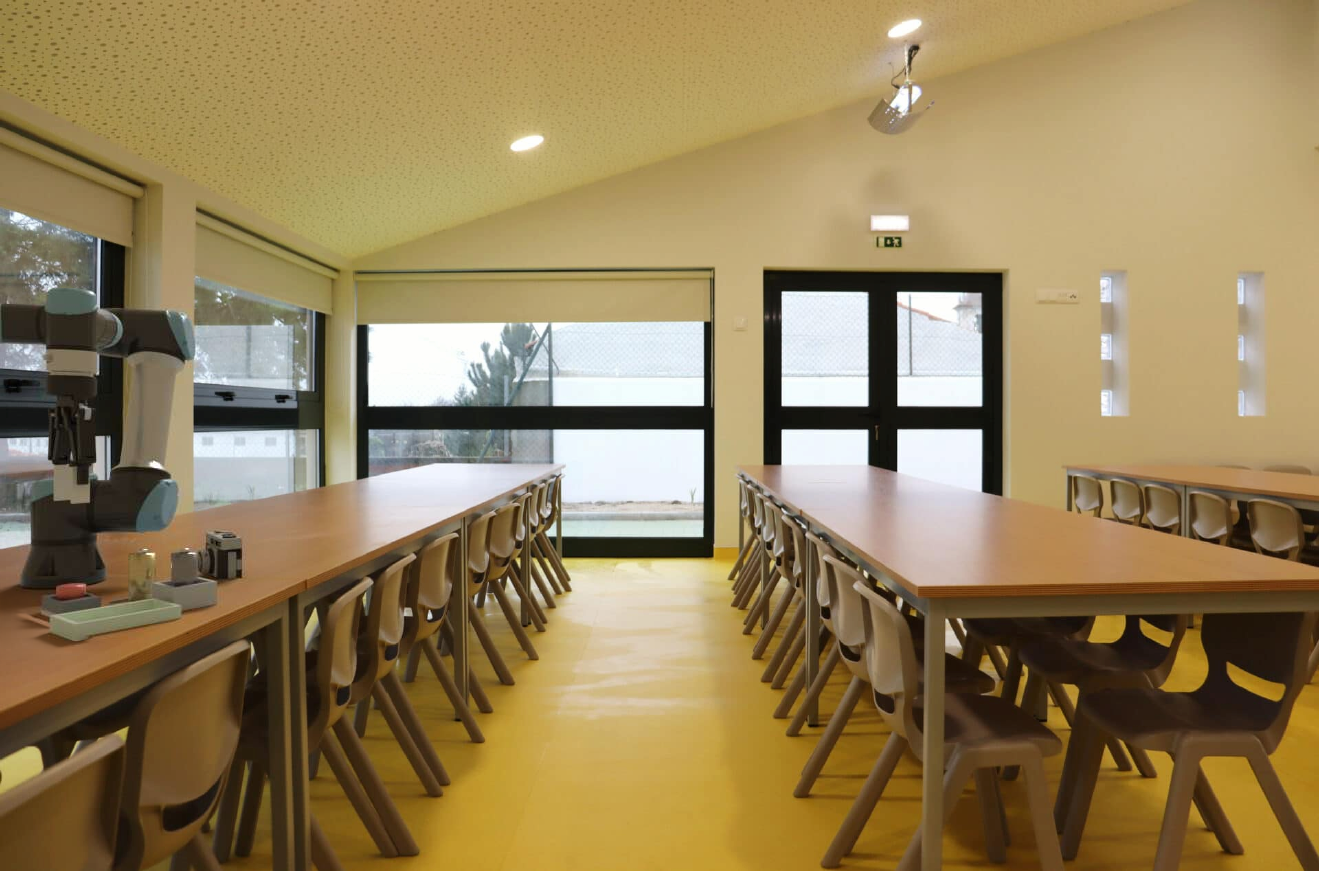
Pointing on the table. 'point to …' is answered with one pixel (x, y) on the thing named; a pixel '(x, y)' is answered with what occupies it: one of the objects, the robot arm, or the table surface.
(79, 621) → the trough
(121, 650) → the table surface
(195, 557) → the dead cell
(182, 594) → the bin
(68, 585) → the button
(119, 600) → the empty grey frame
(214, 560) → the camera
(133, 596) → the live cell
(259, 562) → the table surface
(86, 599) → the button housing
